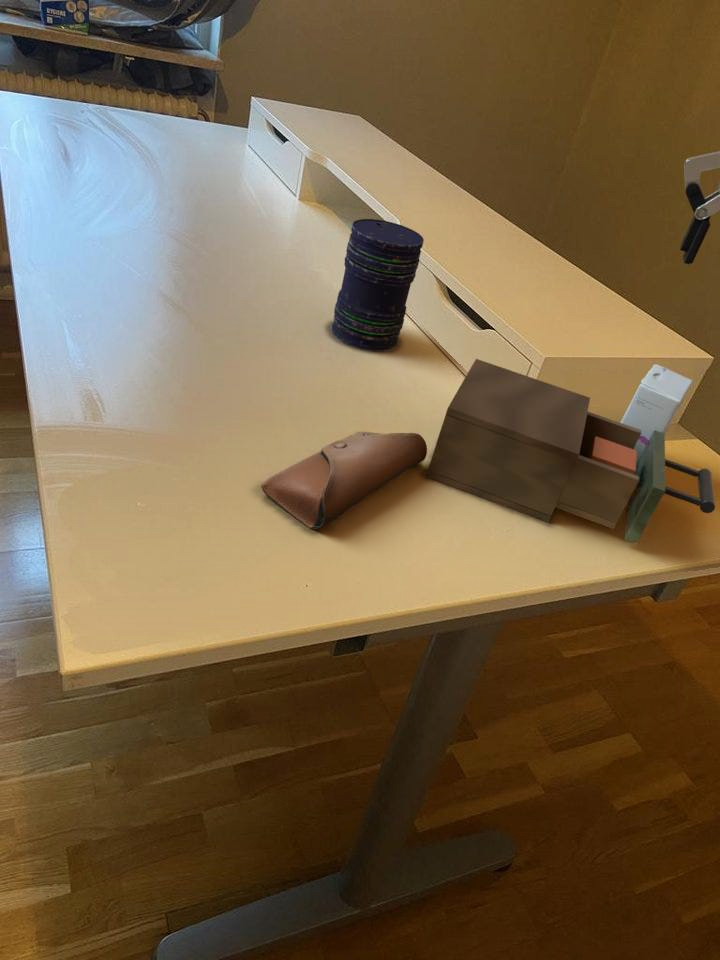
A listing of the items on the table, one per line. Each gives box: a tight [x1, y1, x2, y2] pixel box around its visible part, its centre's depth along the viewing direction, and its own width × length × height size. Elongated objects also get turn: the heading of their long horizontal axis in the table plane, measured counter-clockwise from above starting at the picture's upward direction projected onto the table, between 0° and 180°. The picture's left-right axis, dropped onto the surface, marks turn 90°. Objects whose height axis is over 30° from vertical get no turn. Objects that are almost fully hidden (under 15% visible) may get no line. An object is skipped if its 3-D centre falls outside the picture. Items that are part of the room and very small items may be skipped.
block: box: [586, 436, 637, 474], centre depth 79 cm, size 5×5×5 cm
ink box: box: [620, 364, 694, 464], centre depth 87 cm, size 9×5×12 cm, turn 148°
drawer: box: [555, 411, 716, 545], centre depth 79 cm, size 18×13×7 cm
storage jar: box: [331, 218, 425, 352], centre depth 101 cm, size 10×10×15 cm
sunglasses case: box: [260, 431, 428, 530], centre depth 74 cm, size 18×7×7 cm, turn 144°
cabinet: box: [425, 358, 591, 523], centre depth 81 cm, size 14×14×9 cm
